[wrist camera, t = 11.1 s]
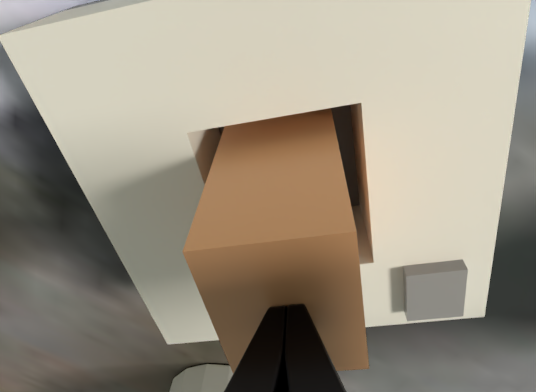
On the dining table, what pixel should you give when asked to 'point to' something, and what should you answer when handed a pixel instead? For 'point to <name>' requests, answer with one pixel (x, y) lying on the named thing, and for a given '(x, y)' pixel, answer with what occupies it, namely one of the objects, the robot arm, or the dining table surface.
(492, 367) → the dining table surface
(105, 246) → the dining table surface
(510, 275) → the dining table surface
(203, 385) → the white cup
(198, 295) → the socket plate
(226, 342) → the plug
